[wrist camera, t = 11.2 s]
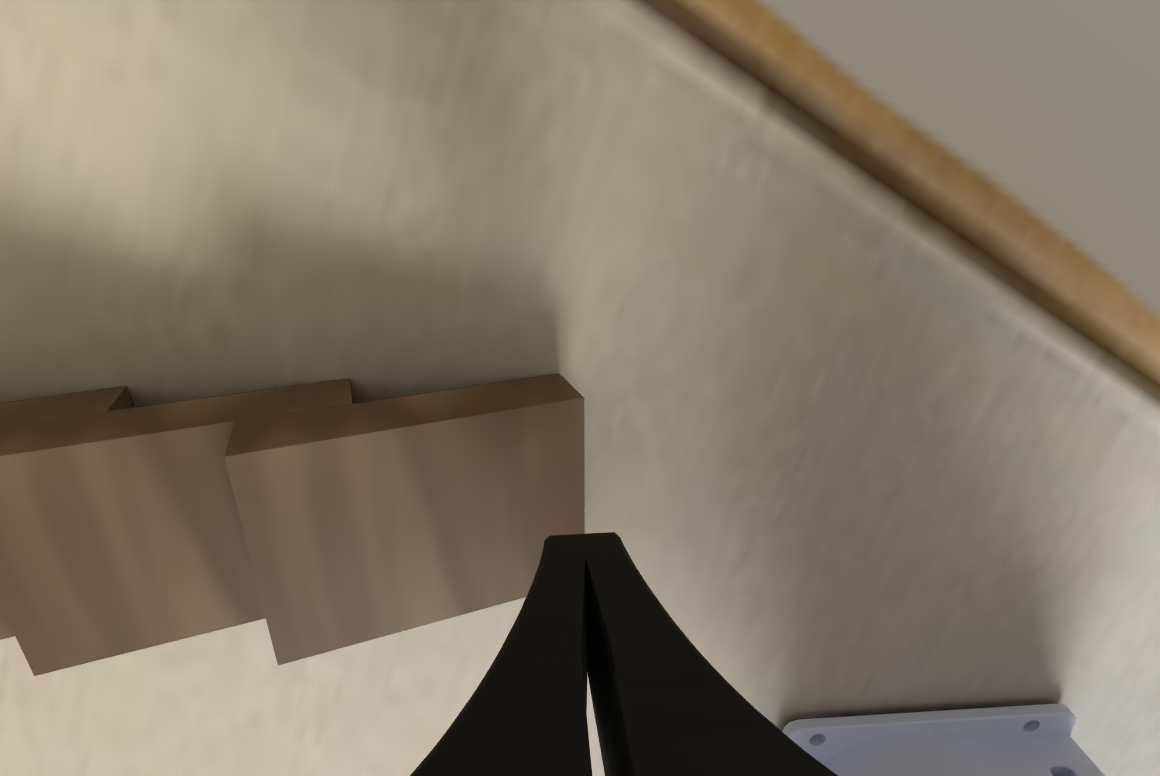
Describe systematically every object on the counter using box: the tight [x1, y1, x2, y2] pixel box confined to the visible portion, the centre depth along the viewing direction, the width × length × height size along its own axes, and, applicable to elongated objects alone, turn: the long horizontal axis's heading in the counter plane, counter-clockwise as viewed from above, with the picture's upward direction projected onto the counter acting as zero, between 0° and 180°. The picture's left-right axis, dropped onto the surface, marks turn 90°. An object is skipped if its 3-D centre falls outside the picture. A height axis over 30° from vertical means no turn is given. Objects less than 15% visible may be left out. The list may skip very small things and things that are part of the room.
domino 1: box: [0, 379, 354, 676], centre depth 14 cm, size 2×5×7 cm
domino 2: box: [224, 374, 584, 665], centre depth 14 cm, size 2×5×7 cm
